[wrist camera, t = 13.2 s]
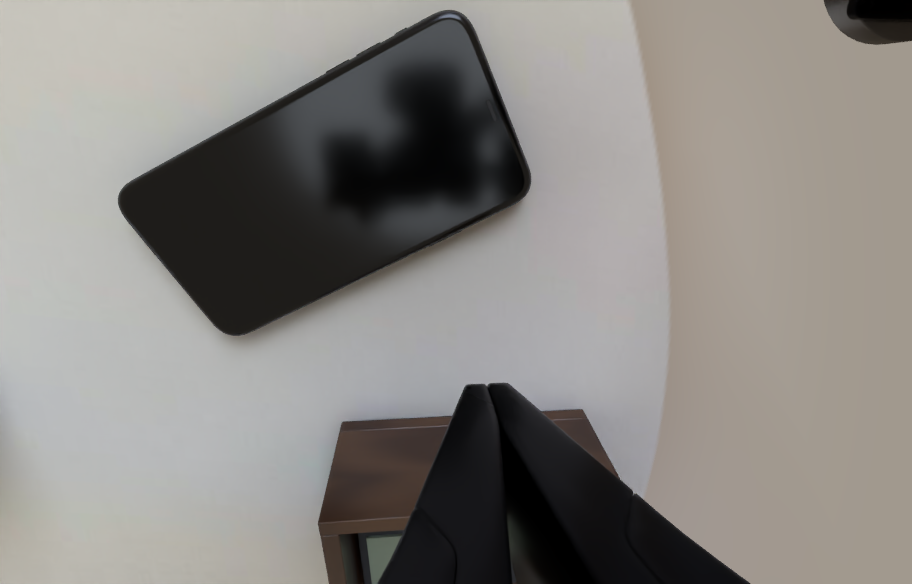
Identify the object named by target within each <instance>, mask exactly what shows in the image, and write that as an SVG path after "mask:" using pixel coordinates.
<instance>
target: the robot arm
mask: <svg viewBox="0 0 912 584" xmlns="http://www.w3.org/2000/svg"><path fill="white" fill-rule="evenodd" d="M862 2H863V3H864V5H863V8H862V10H861V3H862ZM846 12H847V16H848V17H849V18H850V19H852V20H885V21H912V0H849V2H848V5H847V11H846ZM511 562H512V566H513V570H514V574H515V578H516V582H517V584H750V583H749V582H748V581H746V580H745V579H743V578H742V577H741V576H739V575H738V574H737V573H735V572H734V571H733V570H731V569H730V568H728V567H727V566H726V565H724V564H723V563H722V562H720V561H719V560H718V559H716V558H715V557H714V556H712V555H711V554H710V553H709V552H707V551H706V550H705V549H703V548H702V547H701V546H699V545H698V544H697V543H695V542H694V541H693V540H691V539H690V538H689V537H688V536H686V535H685V534H684V533H682V532H681V531H680V530H679V529H678V528H676V527H675V526H674V525H673V524H672V523H670V522H669V521H668V520H667V519H666V518H664V517H663V516H662V515H660V514H659V513H658V512H657V511H656V510H655V509H653V508H652V507H651V506H650V505H649V504H648V503H647V502H645V501H644V500H643V499H642V498H641V497H640V496H638V495H637V494H634V495H633V491H632V490H631V489H630V488H629V487H628V486H627V485H625V484H624V483H623V482H622V481H621V480H620V479H619V478H617V477H616V476H615V475H614V474H613V473H612V472H610V471H609V470H608V469H607V468H606V467H605V466H604V465H602V464H601V463H600V462H599V461H598V460H597V459H595V458H594V457H593V456H592V455H591V454H590V453H588V452H587V451H586V450H585V449H584V448H583V447H582V446H580V445H579V444H578V443H577V442H576V441H575V440H573V439H572V438H571V437H570V436H569V435H568V434H566V433H565V432H564V431H563V430H562V429H561V428H560V427H558V426H557V425H556V424H555V423H554V422H553V421H551V420H550V419H549V418H548V417H547V416H546V415H545V414H543V413H542V412H541V411H540V410H539V409H538V408H536V407H535V406H534V405H533V404H532V403H531V402H529V401H528V400H527V399H526V398H525V397H524V396H523V395H521V394H520V393H519V392H518V391H517V390H516V389H514V388H513V387H512V386H511V385H510V384H508V383H490V384H488V386H486V385H485V384H468V385H466V386H465V387H464V390H463V392H462V394H461V397H460V399H459V401H458V404H457V406H456V409H455V411H454V413H453V416H452V418H451V420H450V423H449V425H448V428H447V430H446V432H445V435H444V437H443V439H442V442H441V444H440V447H439V449H438V451H437V454H436V456H435V458H434V461H433V463H432V466H431V468H430V470H429V473H428V475H427V477H426V480H425V482H424V485H423V487H422V489H421V492H420V494H419V496H418V499H417V501H416V504H415V506H414V509H413V510H412V512H411V515H410V517H409V519H408V522H407V524H406V527H405V529H404V531H403V533H402V535H401V538H400V540H399V542H398V544H397V546H396V548H395V550H394V553H393V555H392V557H391V559H390V561H389V563H388V564H387V566H386V568H385V570H384V572H383V573H382V575H381V577H380V579H379V581H378V583H377V584H513V583H512V571H511Z"/></svg>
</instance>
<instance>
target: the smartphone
mask: <svg viewBox="0 0 912 584" xmlns="http://www.w3.org/2000/svg"><path fill="white" fill-rule="evenodd" d="M530 186H531V173H530V169H529V166H528V164H527V161H526V159H525V156H524V153H523V151H522V148H521V146H520V143H519V140H518V138H517V135H516V133H515V130H514V128H513V125H512V122H511V120H510V117H509V115H508V112H507V110H506V107H505V105H504V102H503V99H502V97H501V94H500V92H499V89H498V87H497V84H496V82H495V79H494V77H493V74H492V71H491V69H490V66H489V64H488V61H487V59H486V56H485V54H484V51H483V49H482V46H481V44H480V41H479V39H478V36H477V34H476V31H475V29H474V27H473V25H472V24H471V22H470V21H469V20H468V19H467V17H465V16H464V15H463V14H462V13H460V12H458V11H454V10H444V11H440V12H437V13H435V14H433V15H431V16H429V17H427V18H425V19H423V20H421V21H420V22H418V23H416V24H414V25H412V26H410V27H409V28H405V29H403V30H401V31H399V32H397V33H396V34H395V35H394V36H392V37H391V38H389V39H387V40H385V41H383V42H382V43H377V44H376V45H374V46H372V47H370V48H368V49H367V50H365V51H363V52H361V53H359V54H358V55H357V56H356V57H354V58H353V59H351V60H347V61H345V62H343V63H341V64H339V65H338V66H336V67H334V68H332V69H330V70H329V71H327V72H326V73H325V74H324V75H322V76H320V77H318V78H316V79H315V80H313V81H311V82H309V83H307V84H305V85H304V86H302V87H300V88H298V89H296V90H295V91H293V92H291V93H289V94H287V95H286V96H284V97H282V98H280V99H278V100H276V101H275V102H273V103H271V104H269V105H267V106H266V107H264V108H262V109H260V110H258V111H257V112H255V113H253V114H251V115H249V116H248V117H246V118H244V119H242V120H240V121H238V122H237V123H235V124H233V125H231V126H229V127H228V128H226V129H224V130H222V131H220V132H219V133H217V134H215V135H213V136H211V137H209V138H208V139H206V140H204V141H202V142H200V143H199V144H197V145H195V146H193V147H191V148H190V149H188V150H186V151H184V152H182V153H181V154H179V155H177V156H175V157H173V158H171V159H170V160H168V161H166V162H164V163H162V164H161V165H159V166H157V167H155V168H153V169H152V170H150V171H148V172H146V173H144V174H142V175H141V176H139V177H137V178H135V179H133V180H132V181H130V182H129V183H127V184H126V185H125V186H124V187H123V188H122V190H121V191H120V193H119V196H118V205H119V208H120V210H121V212H122V214H123V216H124V217H125V219H126V220H127V221H128V222H129V224H130V225H131V226H132V227H133V229H134V230H135V231H136V232H137V233H138V235H139V236H140V237H141V238H142V240H143V241H144V242H145V243H146V244H147V246H148V247H149V248H150V249H151V250H152V252H153V253H154V254H155V255H156V256H157V258H158V259H159V260H160V261H161V262H162V264H163V265H164V266H165V267H166V268H167V270H168V271H169V272H170V273H171V274H172V276H173V277H174V278H175V279H176V280H177V282H178V283H179V284H180V285H181V286H182V288H183V289H184V290H185V291H186V292H187V294H188V295H189V296H190V297H191V298H192V300H193V301H194V302H195V303H196V304H197V306H198V307H199V308H200V309H201V310H202V312H203V313H204V314H205V315H206V316H207V318H208V319H209V320H210V321H211V322H212V323H213V325H214V326H215V327H216V328H218V329H219V330H220V331H222V332H223V333H225V334H228V335H232V336H240V335H245V334H248V333H250V332H253V331H255V330H257V329H259V328H261V327H263V326H265V325H267V324H269V323H271V322H273V321H275V320H277V319H279V318H281V317H284V316H286V315H288V314H290V313H292V312H294V311H296V310H298V309H300V308H302V307H304V306H306V305H308V304H310V303H312V302H314V301H317V300H319V299H321V298H323V297H325V296H327V295H329V294H331V293H333V292H335V291H337V290H339V289H341V288H343V287H345V286H348V285H350V284H352V283H354V282H356V281H358V280H360V279H362V278H364V277H366V276H368V275H370V274H372V273H374V272H376V271H378V270H380V269H383V268H385V267H387V266H389V265H391V264H393V263H395V262H397V261H399V260H401V259H403V258H405V257H407V256H409V255H411V254H414V253H416V252H418V251H420V250H422V249H424V248H426V247H428V246H432V245H434V244H436V243H438V242H440V241H442V240H444V239H446V238H448V237H450V236H452V235H454V234H456V233H458V232H460V231H462V230H463V229H465V228H467V227H469V226H471V225H473V224H475V223H478V222H480V221H482V220H484V219H486V218H488V217H490V216H492V215H494V214H496V213H498V212H500V211H502V210H504V209H506V208H508V207H511V206H512V205H514V204H516V203H518V202H519V201H520V200H522V199H523V198H524V197H525V196H526V194H527V193H528V191H529V189H530Z"/></svg>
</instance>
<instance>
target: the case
mask: <svg viewBox="0 0 912 584" xmlns="http://www.w3.org/2000/svg"><path fill="white" fill-rule="evenodd" d="M542 413H543V414H545V415H546V416H547V417H548V418H549V419H550V420H551V421H553V422H554V423H555V424H556V425H557V426H558V427H560V428H561V429H562V430H563V431H564V432H565V433H566V434H568V435H569V436H570V437H571V438H572V439H573V440H575V441H576V442H577V443H578V444H579V445H580V446H582V447H583V448H584V449H585V450H586V451H587V452H588V453H590V454H591V455H592V456H593V457H594V458H595V459H597V460H598V461H599V462H600V463H601V464H602V465H604V466H605V467H606V468H607V469H608V470H609V471H610V472H612V473H613V474H614V475H615V476H616V477H617V478H619V476H618V474H617V473H616V471H615V469H614V467H613V465H612V463H611V461H610V459H609V458H608V456H607V454H606V452H605V450H604V448H603V446H602V445H601V443H600V441H599V439H598V437H597V435H596V433H595V431H594V430H593V428H592V426H591V424H590V422H589V420H588V419H587V417H586V415H585V413H584V411H583V410H582V409H581V410H562V411H543V412H542ZM451 418H452V416H448V417H428V418H409V419H390V420H371V421H352V422H342V424H341V429H340V433H339V437H338V441H337V445H336V449H335V453H334V458H333V462H332V466H331V470H330V474H329V479H328V483H327V487H326V491H325V496H324V500H323V504H322V508H321V512H320V517H319V521H318V526H319V531H320V535H321V541H322V547H323V552H324V558H325V563H326V569H327V574H328V580H329V584H364V578H363V570H362V563H361V555H360V548H359V540H358V533H367V532H381V531H395V530H404V529H405V527H406V524H407V522H408V519H409V517H410V515H411V512H412V510H413V509H414V506H415V504H416V501H417V499H418V496H419V494H420V492H421V489H422V487H423V485H424V482H425V480H426V477H427V475H428V473H429V470H430V468H431V466H432V463H433V461H434V458H435V456H436V454H437V451H438V449H439V447H440V444H441V442H442V439H443V437H444V435H445V432H446V430H447V428H448V425H449V423H450V420H451ZM619 479H620V478H619ZM513 584H517V582H515V583H513Z"/></svg>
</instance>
